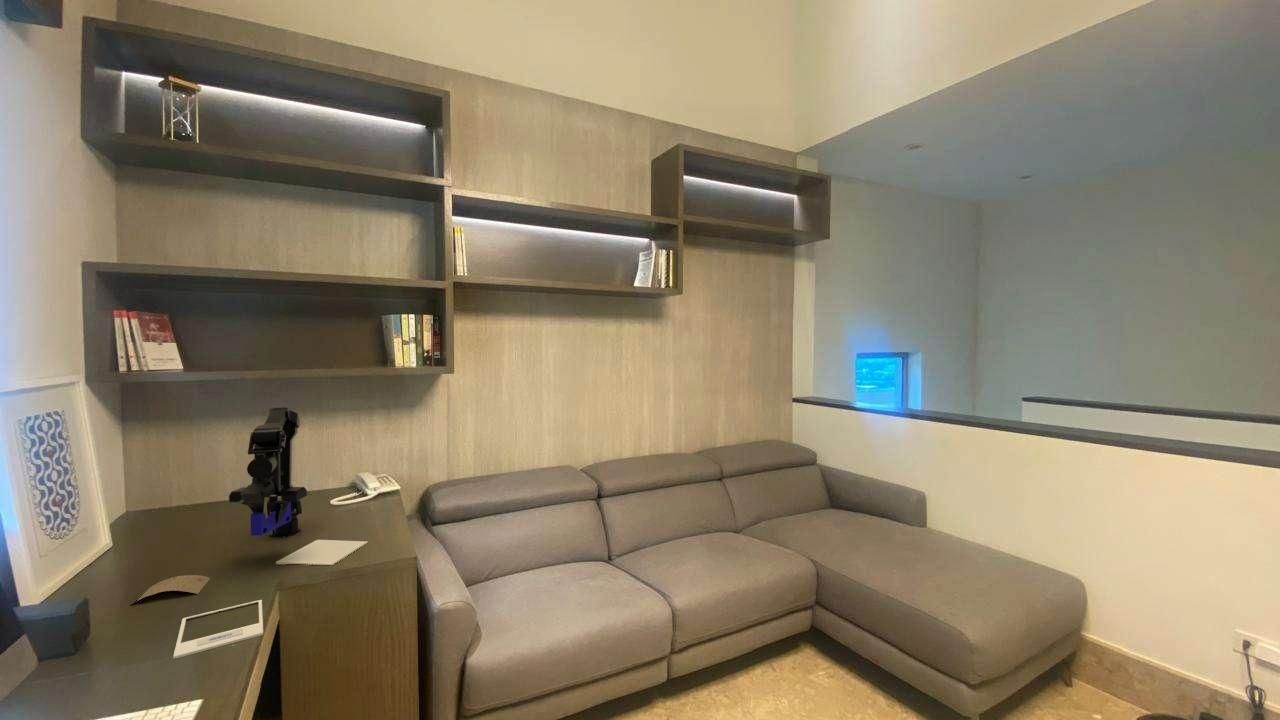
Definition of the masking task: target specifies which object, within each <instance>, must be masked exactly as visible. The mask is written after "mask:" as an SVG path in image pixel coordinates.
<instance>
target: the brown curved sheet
mask: <svg viewBox="0 0 1280 720" xmlns="http://www.w3.org/2000/svg"><path fill="white" fill-rule="evenodd" d="M210 580H211V578H210V577H208V576H205V575H197V574H196V575H194V574H193V575H191V574H189V575H179V576H173V577H170V578H168V579H163V580H162V581H161V580H160V581H159V582H157V583H155V584H153V585H152V586H150V587H149V588H147V589H148V590H147V589H146V590H147V591H146V590H145V591H146V592H145V591H144V592H145V593H144V592H143V593H144V594H143V593H142V594H143V595H142V594H141V595H142V596H141V595H140V596H141V597H140V596H139V597H140V598H139V597H138V598H139V599H138V598H137V599H138V600H137V599H136V600H137V601H136V602H138V601H141V600H142V599H144V598H146V597H149V596H153V595H156V594H158V593H159V594H160V593H162V592H170V591H178V592H186V593H190V594H192V593H193V594H197V595H199V593H200V591H201V590H202V589H203V588H204V586H206V585H207V583H208V582H209V581H210ZM136 602H135V601H134V602H133V604H135V603H136Z"/></svg>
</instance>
